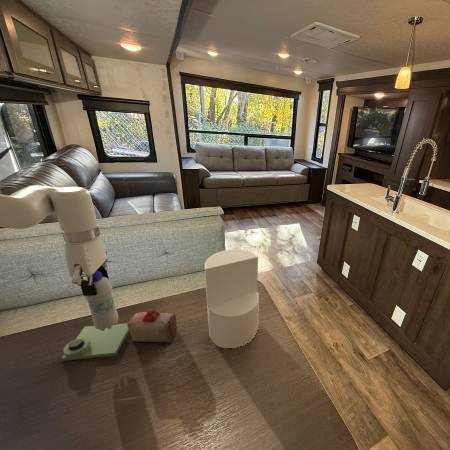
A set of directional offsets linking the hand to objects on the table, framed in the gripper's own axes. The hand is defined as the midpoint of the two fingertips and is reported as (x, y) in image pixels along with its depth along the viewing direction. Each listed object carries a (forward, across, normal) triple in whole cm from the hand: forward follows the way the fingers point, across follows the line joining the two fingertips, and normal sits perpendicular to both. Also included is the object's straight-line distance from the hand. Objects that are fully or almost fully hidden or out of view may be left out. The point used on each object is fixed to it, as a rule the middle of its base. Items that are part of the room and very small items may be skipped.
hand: (96, 287), depth 73 cm
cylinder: (+20, +1, +40) cm, 45 cm away
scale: (+20, +2, -2) cm, 21 cm away
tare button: (+18, +5, -6) cm, 20 cm away
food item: (+21, +1, +14) cm, 25 cm away
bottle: (+15, 0, 0) cm, 15 cm away
